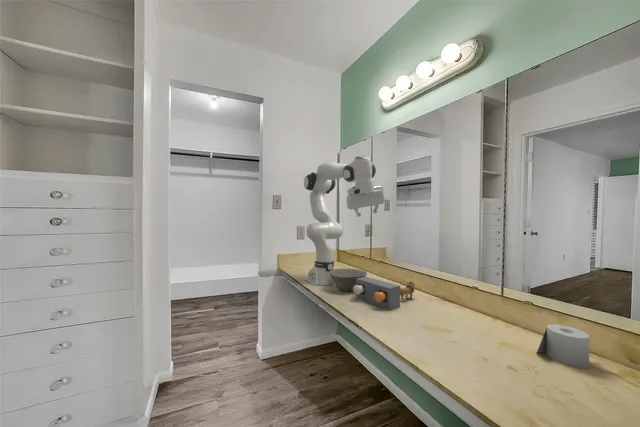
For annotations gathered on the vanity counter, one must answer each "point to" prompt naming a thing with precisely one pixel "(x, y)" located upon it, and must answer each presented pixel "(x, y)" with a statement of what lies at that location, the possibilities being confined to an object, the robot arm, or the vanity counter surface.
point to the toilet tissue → (566, 345)
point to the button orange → (380, 296)
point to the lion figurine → (407, 290)
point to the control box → (379, 286)
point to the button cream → (359, 289)
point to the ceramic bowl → (346, 278)
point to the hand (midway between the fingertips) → (366, 214)
